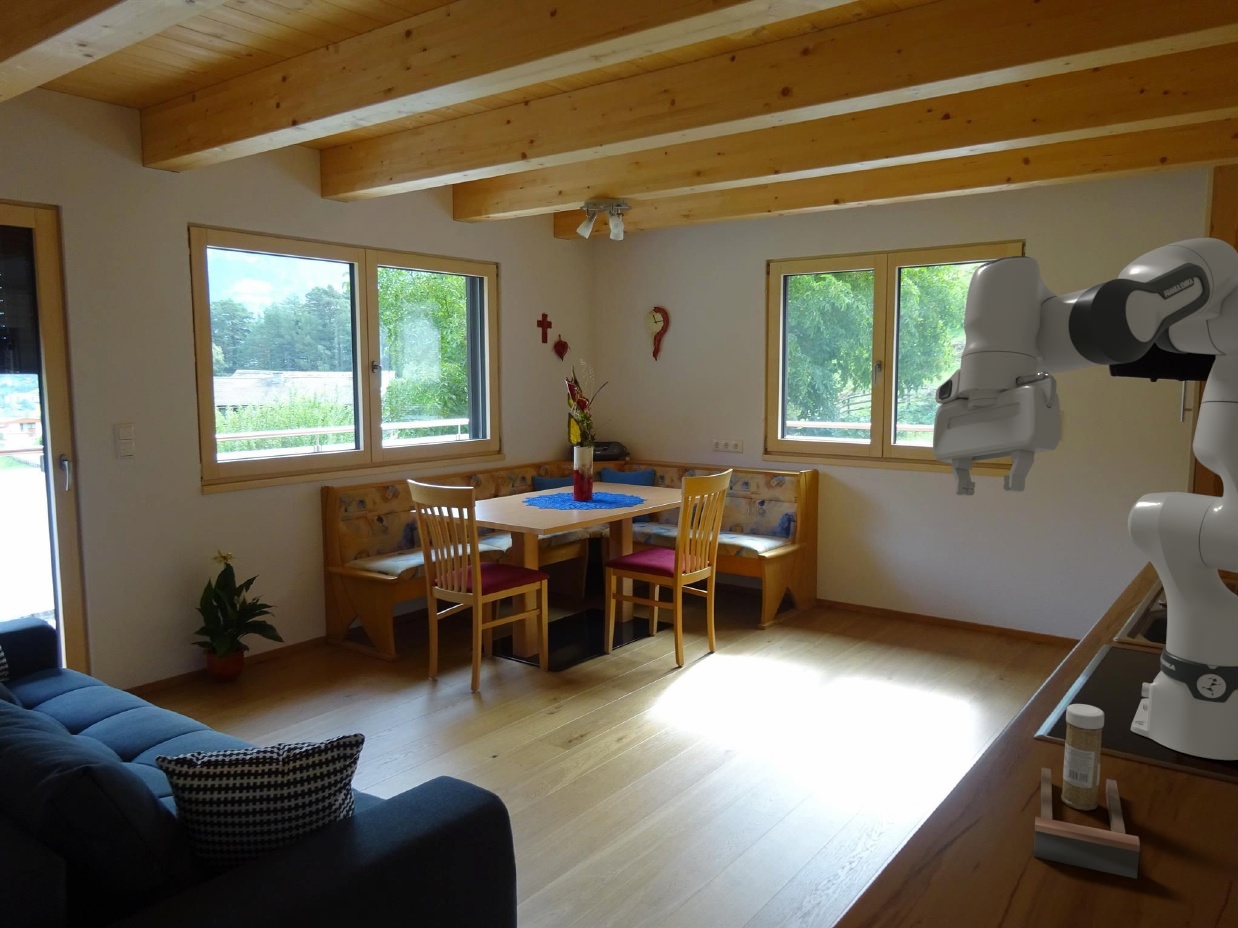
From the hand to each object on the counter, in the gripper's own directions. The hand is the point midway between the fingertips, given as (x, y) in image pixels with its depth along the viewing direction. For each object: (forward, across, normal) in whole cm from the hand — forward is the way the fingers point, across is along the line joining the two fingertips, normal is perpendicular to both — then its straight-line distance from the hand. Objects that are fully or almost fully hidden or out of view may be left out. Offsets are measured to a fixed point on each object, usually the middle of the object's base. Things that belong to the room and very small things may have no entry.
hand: (988, 493), depth 112 cm
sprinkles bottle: (+39, +11, -26) cm, 48 cm away
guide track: (+40, +7, -22) cm, 46 cm away
